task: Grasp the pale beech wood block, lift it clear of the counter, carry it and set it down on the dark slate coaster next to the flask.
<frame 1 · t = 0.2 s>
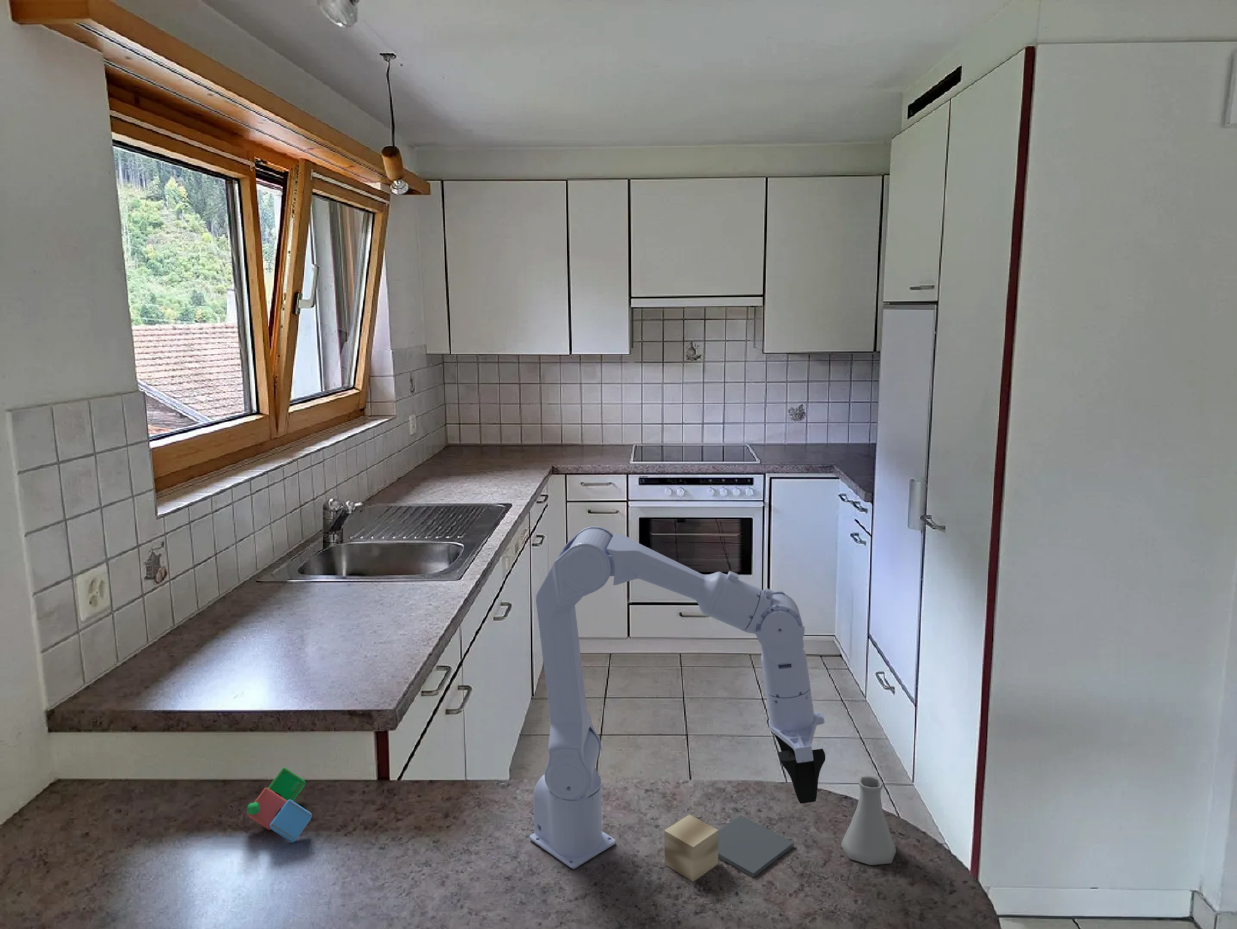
hand: (801, 785, 110), 11 cm above the countertop, tool pointing down, fingers open, 7 cm apart
block: (691, 864, 111), on the countertop
building blocks: (290, 826, 121), on the countertop
flask: (868, 851, 113), on the countertop
coaster: (746, 846, 114), on the countertop
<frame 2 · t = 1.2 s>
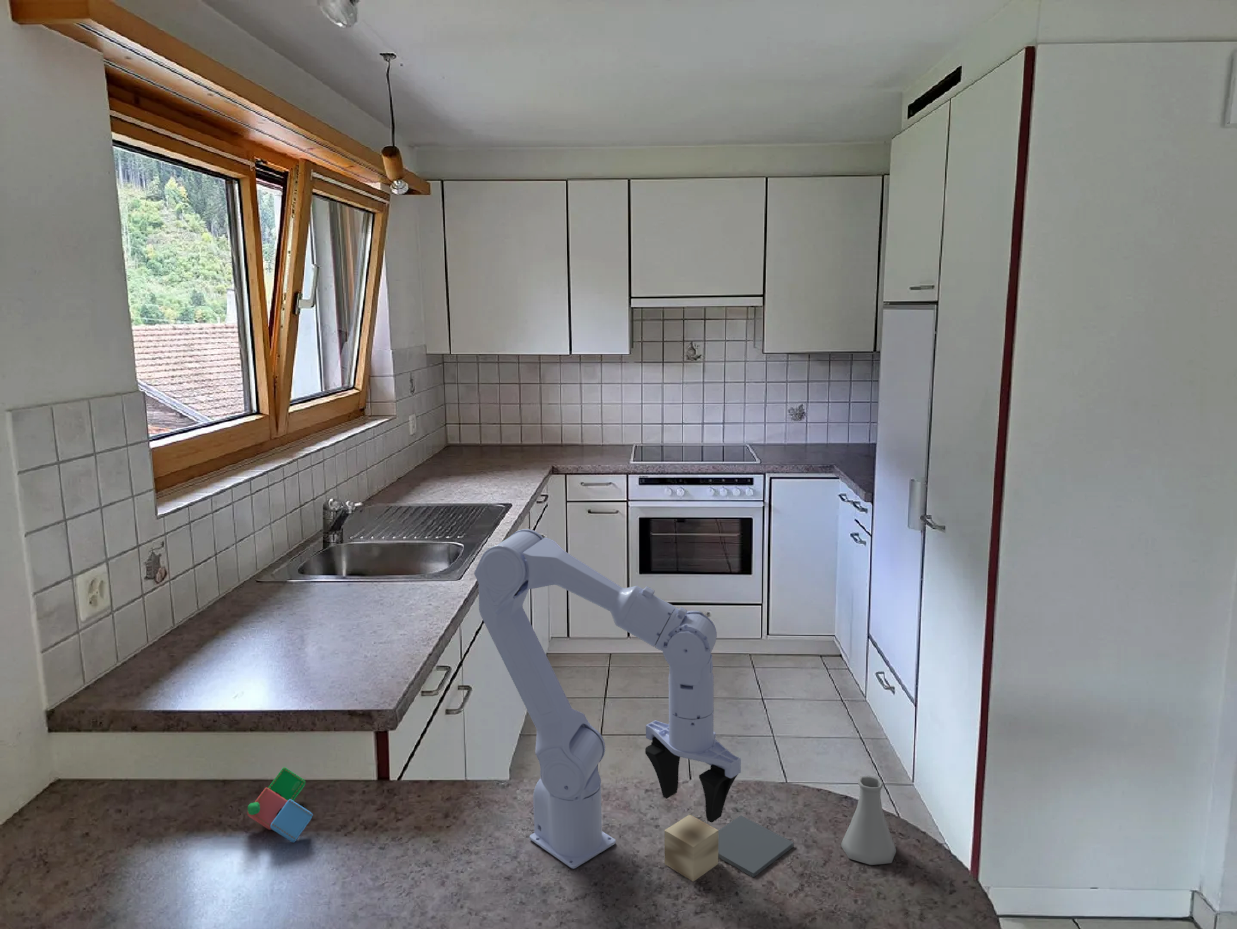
hand: (691, 806, 109), 8 cm above the countertop, tool pointing down, fingers open, 7 cm apart
nothing on the countertop moved.
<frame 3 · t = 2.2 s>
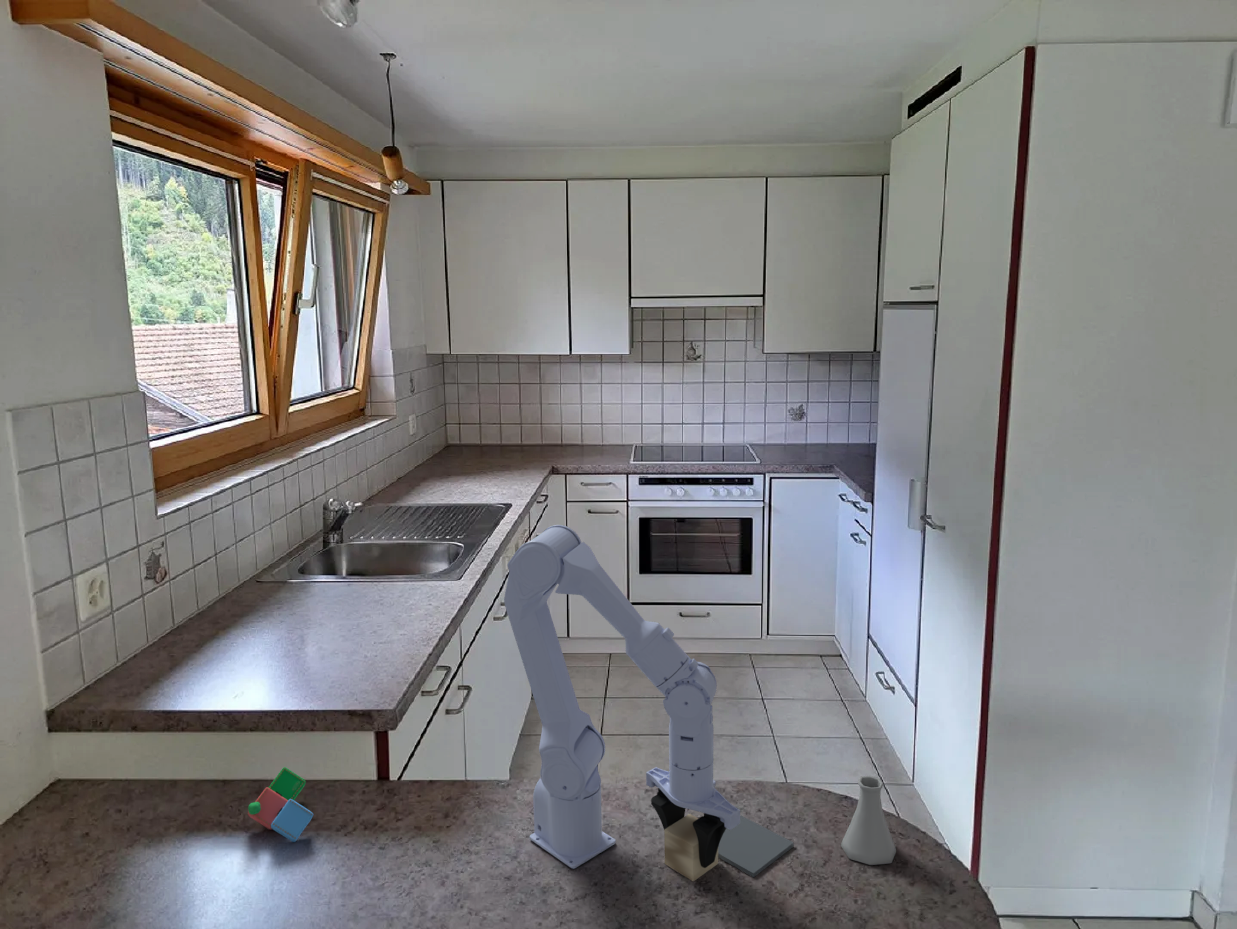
hand: (691, 854, 110), 1 cm above the countertop, tool pointing down, fingers closed on block, 5 cm apart
block: (691, 863, 111), on the countertop, touching gripper
everything else where it was.
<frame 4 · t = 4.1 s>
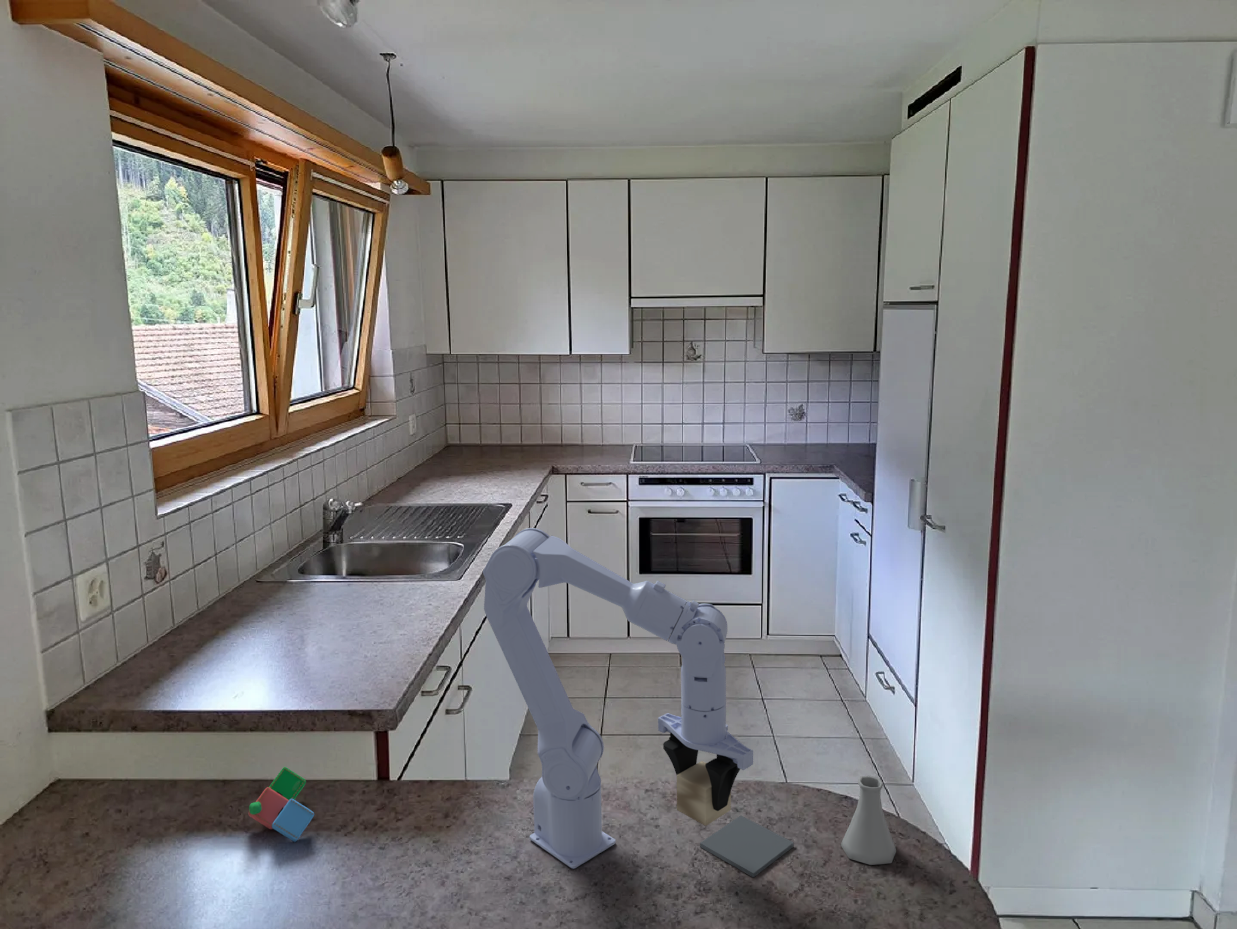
hand: (703, 798, 110), 9 cm above the countertop, tool pointing down, fingers closed on block, 5 cm apart
block: (703, 810, 110), point 7 cm above the countertop, touching gripper
everything else where it was.
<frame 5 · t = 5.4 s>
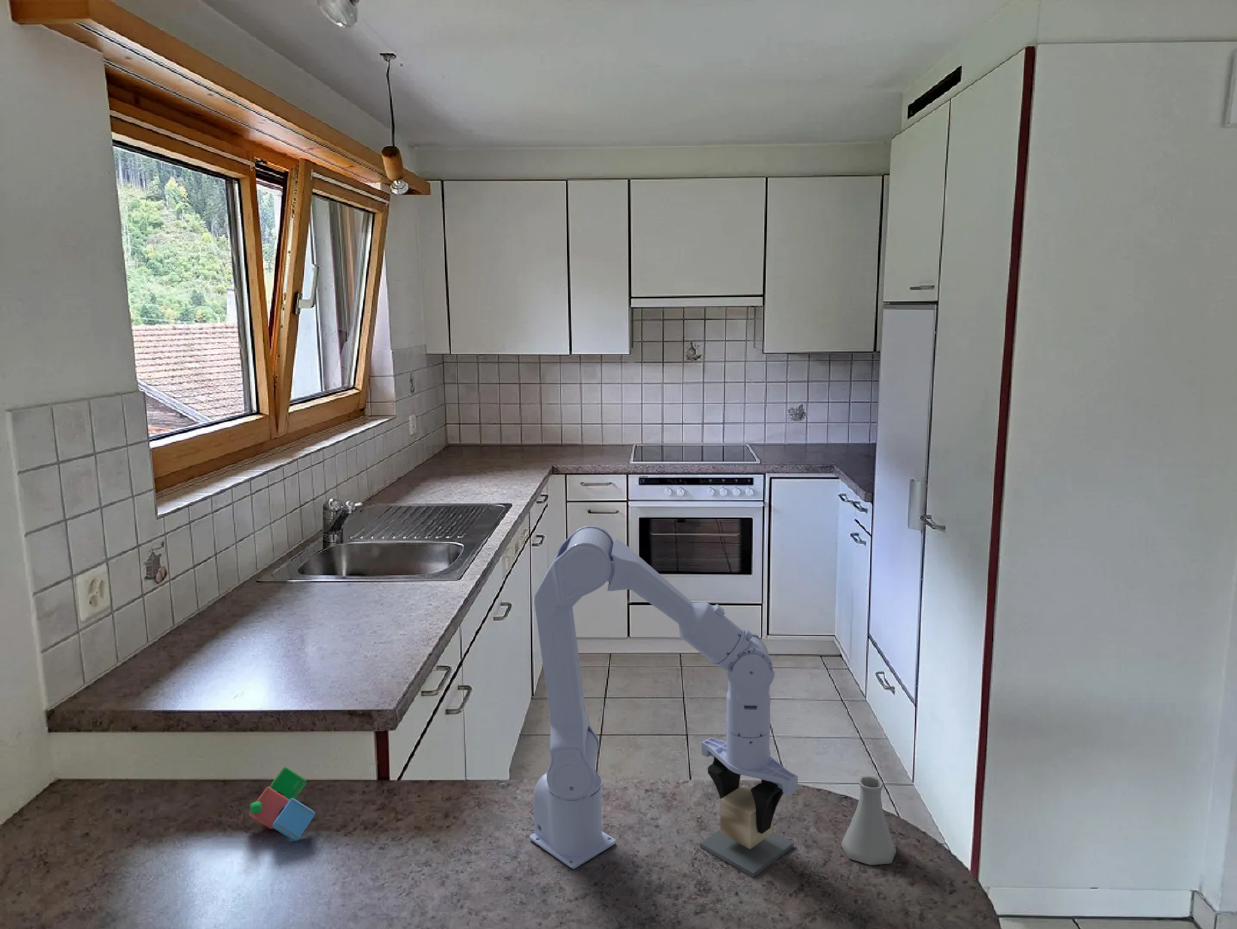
hand: (747, 821, 113), 4 cm above the countertop, tool pointing down, fingers closed on block, 5 cm apart
block: (746, 833, 113), point 2 cm above the countertop, touching gripper
everything else where it was.
when the fingers open (3 cm above the countertop, at t = 6.1 s): block stays where it is, resting on coaster.
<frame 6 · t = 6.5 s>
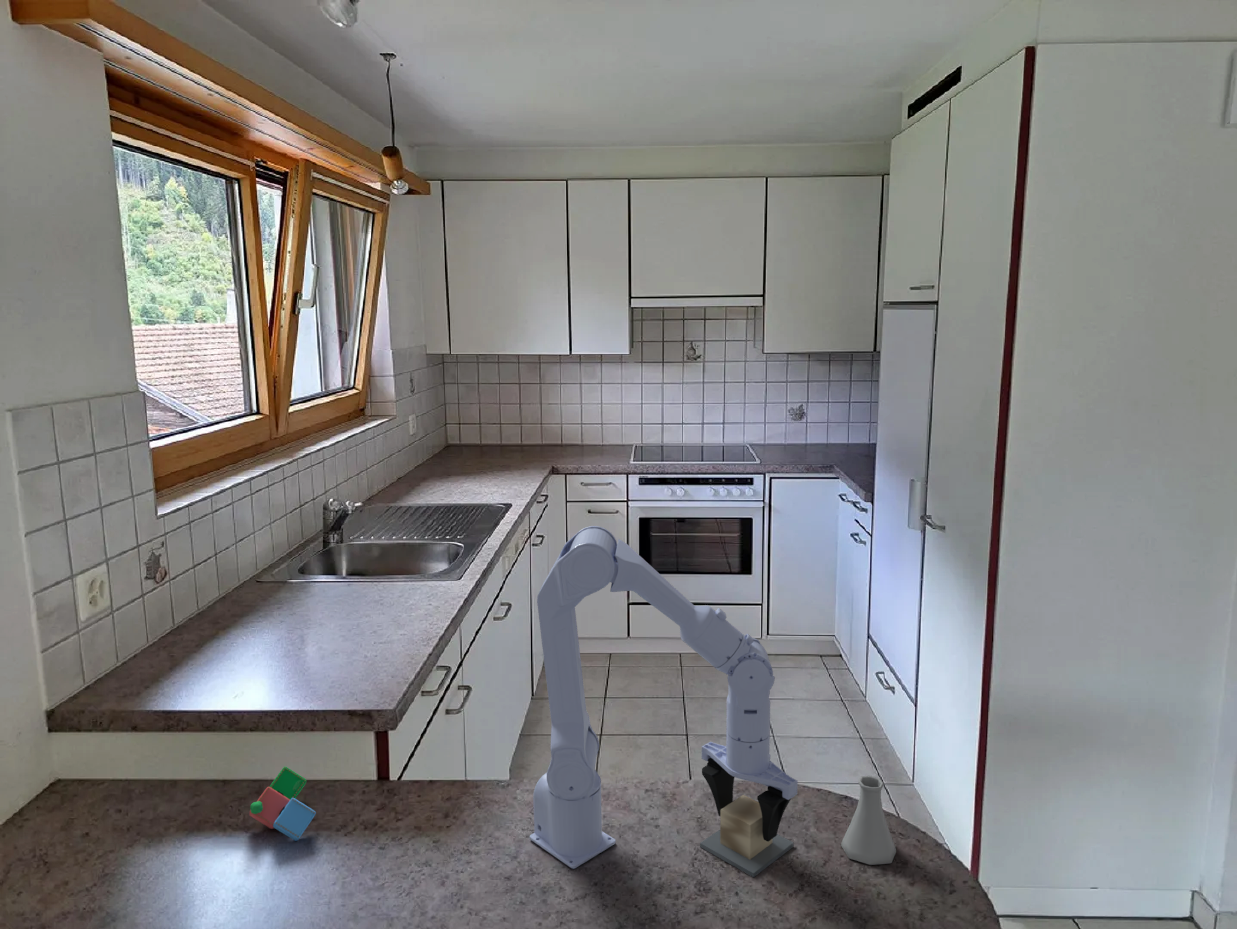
hand: (747, 825, 113), 3 cm above the countertop, tool pointing down, fingers open, 7 cm apart
block: (746, 843, 114), point 1 cm above the countertop, touching coaster
everything else where it was.
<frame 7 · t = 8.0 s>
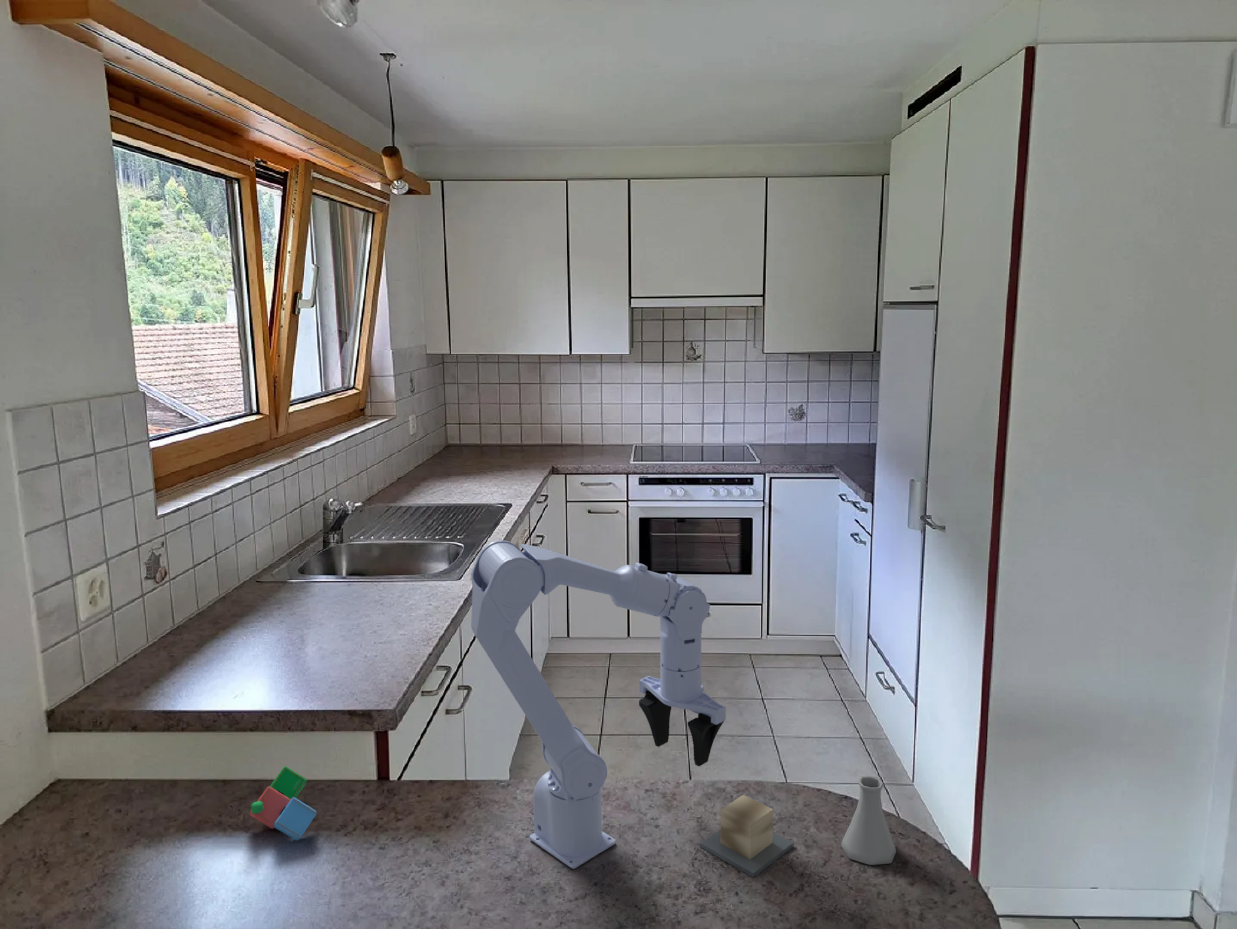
hand: (681, 753, 119), 10 cm above the countertop, tool pointing down, fingers open, 7 cm apart
nothing on the countertop moved.
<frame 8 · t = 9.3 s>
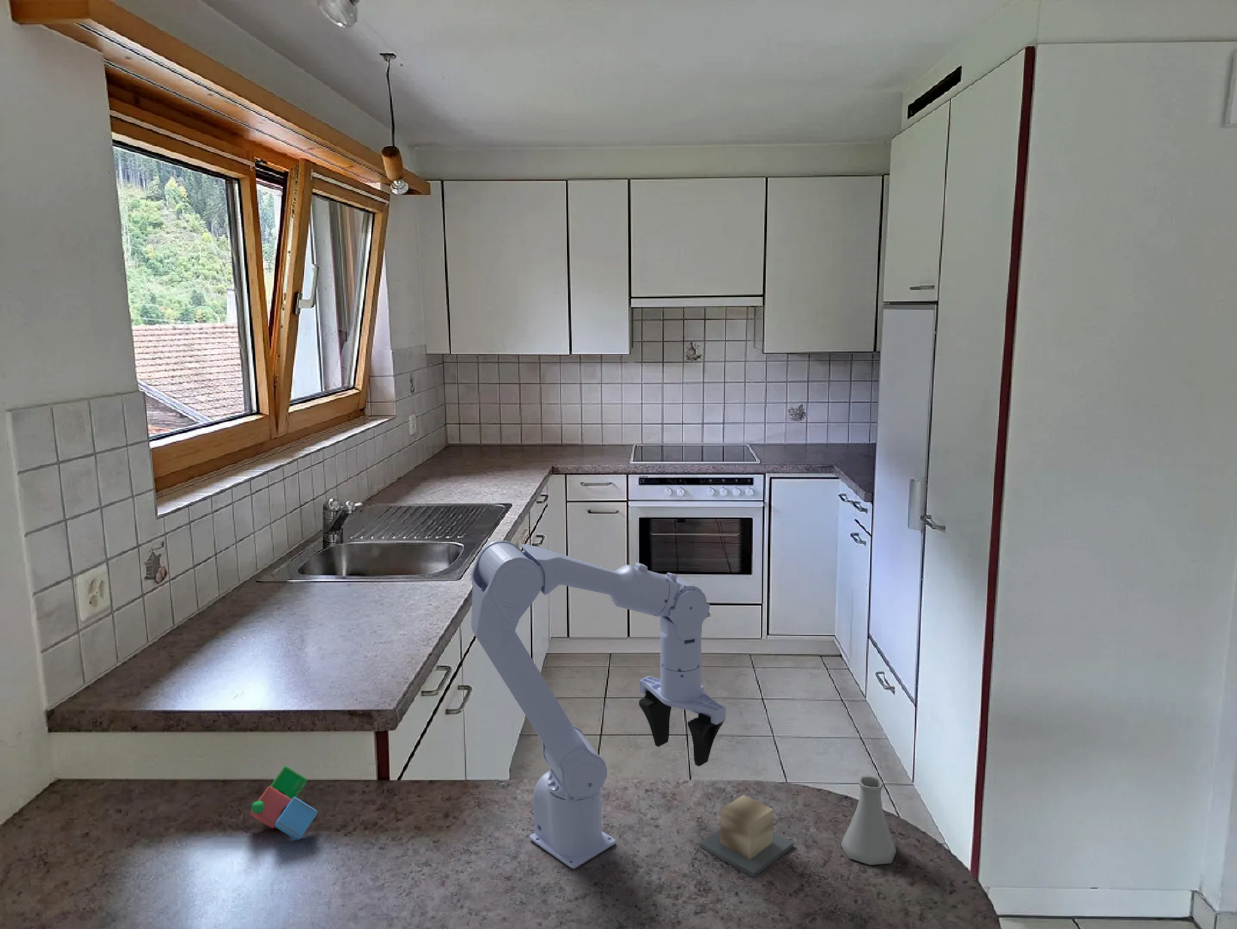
hand: (681, 753, 119), 10 cm above the countertop, tool pointing down, fingers open, 7 cm apart
nothing on the countertop moved.
at the end: block inside the target area on the coaster (0.1 cm from its centre), point 0.6 cm above the coaster's base; block tilted 0°; the gripper is holding nothing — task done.
